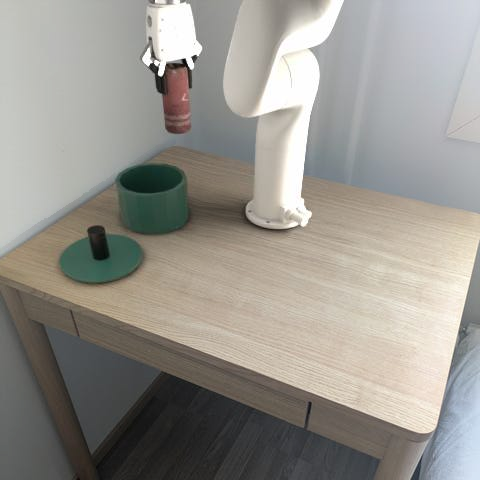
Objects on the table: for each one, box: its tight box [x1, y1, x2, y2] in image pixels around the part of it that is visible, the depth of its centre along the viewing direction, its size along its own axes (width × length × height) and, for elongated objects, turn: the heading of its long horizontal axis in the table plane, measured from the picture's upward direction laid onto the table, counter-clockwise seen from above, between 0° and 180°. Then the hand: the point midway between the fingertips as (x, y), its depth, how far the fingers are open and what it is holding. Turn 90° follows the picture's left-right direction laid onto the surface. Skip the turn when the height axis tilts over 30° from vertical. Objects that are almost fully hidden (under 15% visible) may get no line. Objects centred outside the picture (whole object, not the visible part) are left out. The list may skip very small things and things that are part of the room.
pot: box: [114, 162, 190, 235], centre depth 99 cm, size 14×14×8 cm
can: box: [161, 62, 192, 135], centre depth 113 cm, size 6×6×14 cm
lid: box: [59, 224, 143, 284], centre depth 88 cm, size 15×15×7 cm
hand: (174, 89), depth 111 cm, fingers closed on can, 6 cm apart
